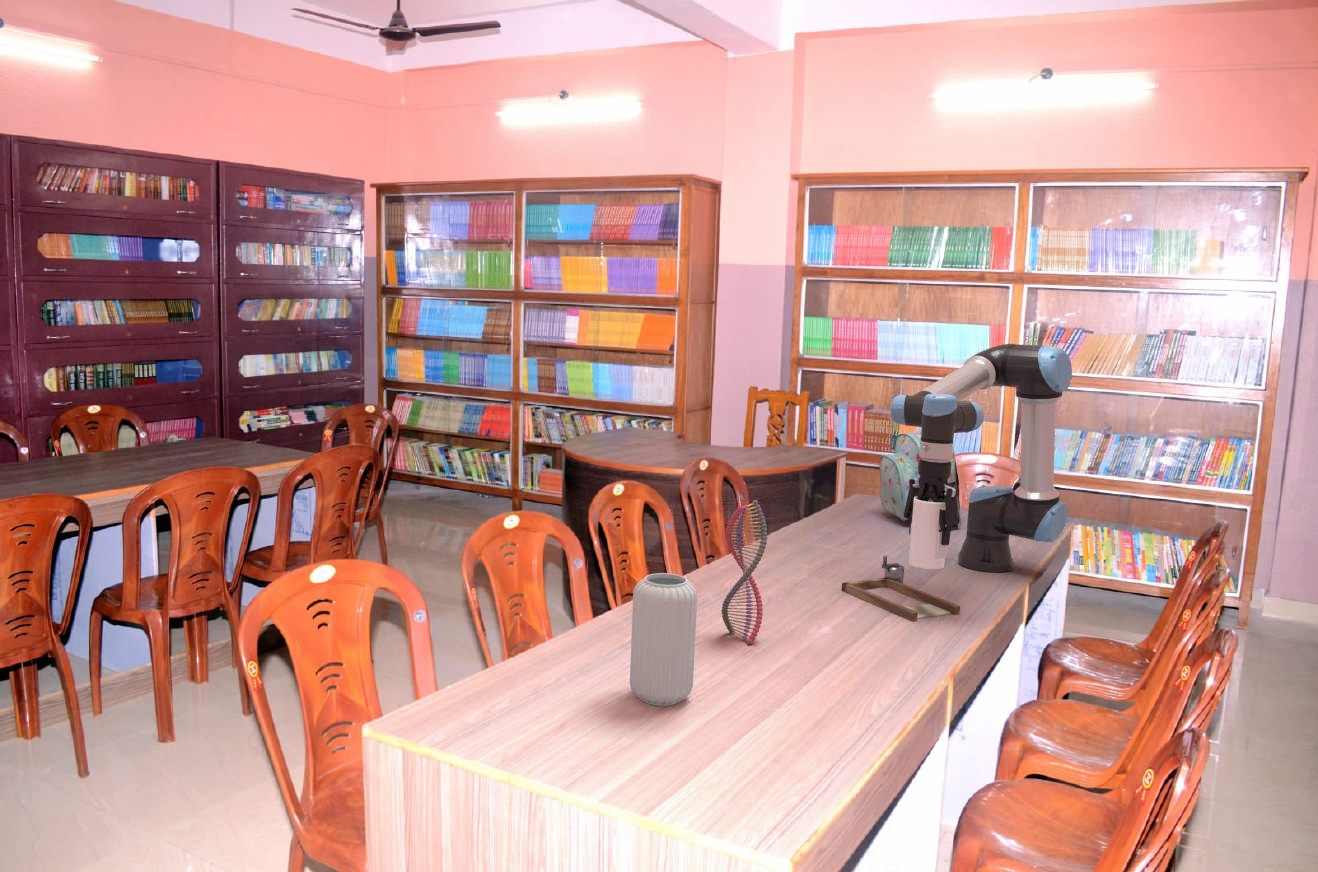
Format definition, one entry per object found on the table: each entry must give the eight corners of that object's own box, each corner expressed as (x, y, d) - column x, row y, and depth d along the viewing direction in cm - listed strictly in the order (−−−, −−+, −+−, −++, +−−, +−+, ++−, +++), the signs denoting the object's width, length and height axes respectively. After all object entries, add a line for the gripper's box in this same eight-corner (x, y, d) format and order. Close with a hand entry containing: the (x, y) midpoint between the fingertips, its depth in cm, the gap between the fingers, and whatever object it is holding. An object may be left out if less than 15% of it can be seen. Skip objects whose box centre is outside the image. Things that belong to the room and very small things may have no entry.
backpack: (868, 512, 348) (874, 423, 343) (933, 513, 350) (941, 425, 346) (895, 530, 320) (903, 434, 315) (966, 531, 323) (975, 436, 318)
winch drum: (894, 581, 259) (896, 551, 257) (907, 586, 254) (909, 556, 253) (875, 583, 255) (877, 553, 254) (888, 589, 251) (890, 558, 250)
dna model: (734, 648, 203) (741, 508, 199) (712, 634, 211) (719, 499, 207) (769, 642, 207) (777, 505, 203) (747, 629, 215) (754, 497, 211)
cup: (945, 570, 227) (951, 503, 224) (909, 567, 228) (914, 500, 226) (942, 562, 235) (948, 497, 232) (907, 558, 236) (913, 494, 234)
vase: (700, 707, 172) (706, 586, 169) (638, 712, 169) (643, 589, 166) (681, 682, 183) (686, 569, 180) (622, 687, 180) (626, 571, 177)
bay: (886, 584, 255) (886, 577, 255) (959, 613, 233) (960, 605, 232) (841, 590, 248) (842, 582, 248) (912, 621, 226) (913, 613, 225)
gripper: (892, 453, 235) (885, 544, 238) (956, 467, 217) (948, 565, 220) (915, 452, 239) (908, 541, 242) (980, 466, 221) (971, 563, 224)
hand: (927, 553), depth 231 cm, fingers closed on cup, 8 cm apart
